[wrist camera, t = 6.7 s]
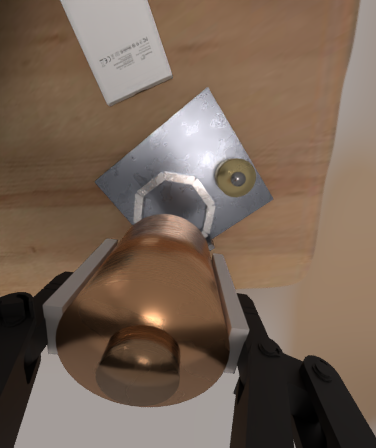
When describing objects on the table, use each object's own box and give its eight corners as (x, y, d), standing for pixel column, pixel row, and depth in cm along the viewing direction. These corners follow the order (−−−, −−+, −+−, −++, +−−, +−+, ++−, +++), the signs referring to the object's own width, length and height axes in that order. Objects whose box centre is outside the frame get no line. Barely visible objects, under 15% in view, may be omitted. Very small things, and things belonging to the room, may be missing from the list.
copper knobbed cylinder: (139, 300, 17) (91, 447, 8) (106, 228, 15) (-6, 329, 6) (218, 281, 16) (251, 420, 8) (196, 203, 14) (208, 277, 6)
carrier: (169, 265, 31) (166, 281, 26) (96, 181, 26) (79, 186, 22) (272, 198, 27) (286, 206, 23) (207, 88, 23) (211, 74, 19)
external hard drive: (125, -64, 19) (173, 79, 23) (53, -23, 20) (111, 107, 24) (119, -83, 17) (172, 74, 21) (41, -38, 18) (105, 104, 22)
